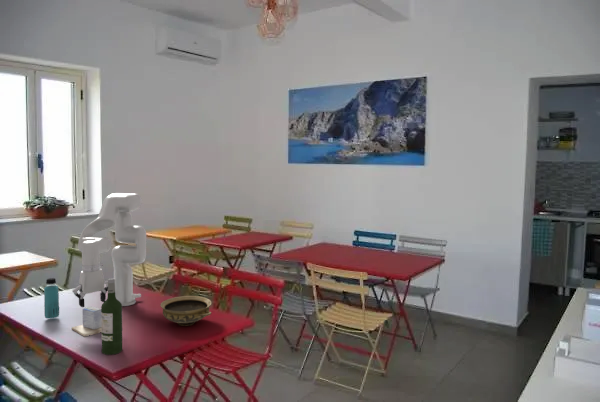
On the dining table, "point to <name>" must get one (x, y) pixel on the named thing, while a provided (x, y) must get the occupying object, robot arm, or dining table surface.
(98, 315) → the medicine box
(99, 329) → the birch board
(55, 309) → the beverage bottle
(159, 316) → the dining table surface
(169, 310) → the ceramic bowl
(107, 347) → the wine bottle
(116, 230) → the robot arm
